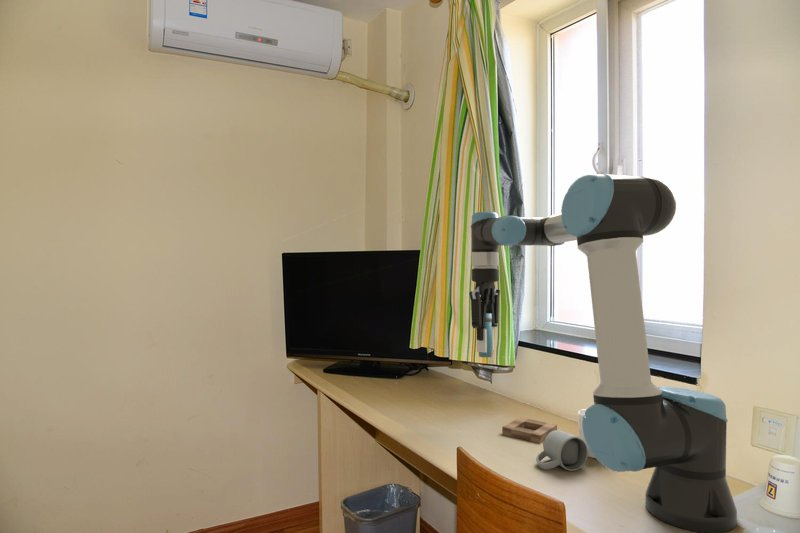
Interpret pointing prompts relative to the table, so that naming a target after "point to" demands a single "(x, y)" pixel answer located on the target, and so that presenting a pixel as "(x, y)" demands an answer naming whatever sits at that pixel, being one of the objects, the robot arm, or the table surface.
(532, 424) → the square hole plate
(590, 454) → the white cup
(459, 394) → the table surface
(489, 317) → the banded teal cylinder
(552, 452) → the ceramic mug
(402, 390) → the table surface
